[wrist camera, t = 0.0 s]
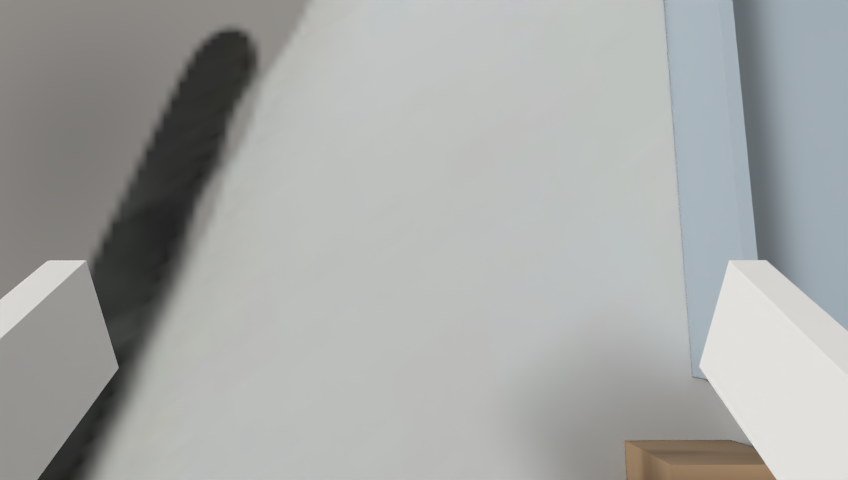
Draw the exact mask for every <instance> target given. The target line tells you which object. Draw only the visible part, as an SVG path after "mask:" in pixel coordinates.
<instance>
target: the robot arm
mask: <svg viewBox="0 0 848 480" xmlns="http://www.w3.org/2000/svg"><path fill="white" fill-rule="evenodd" d="M699 367H700V369H701V370H702V372H703V373H704V375H705V376H706V377H707V379H708V380H709V382H710V383H711V385H712V386H713V388H714V389H715V391H716V392H717V394H718V395H719V396H720V398H721V399H722V401H723V402H724V404H725V405H726V407H727V408H728V410H729V411H730V412H731V414H732V415H733V417H734V418H735V420H736V421H737V423H738V424H739V426H740V427H741V429H742V430H743V431H744V433H745V434H746V436H747V437H748V439H749V440H750V442H751V443H752V445H753V446H754V447H755V449H756V450H757V452H758V453H759V455H760V456H761V458H762V459H763V461H764V462H765V464H766V465H767V466H768V468H769V469H770V471H771V472H772V474H773V475H774V477H775V478H776V480H848V331H847V330H846V329H845V328H843V327H842V326H841V325H840V324H839V323H838V322H837V321H835V320H834V319H833V318H832V317H831V316H830V315H829V314H827V313H826V312H825V311H824V310H823V309H822V308H821V307H819V306H818V305H817V304H816V303H815V302H814V301H812V300H811V299H810V298H809V297H808V296H807V295H806V294H804V293H803V292H802V291H801V290H800V289H799V288H798V287H796V286H795V285H794V284H793V283H792V282H791V281H790V280H788V279H787V278H786V277H785V276H784V275H783V274H781V273H780V272H779V271H778V270H777V269H776V268H775V267H773V266H772V265H771V264H770V263H769V262H768V261H767V260H729V262H728V266H727V269H726V273H725V276H724V280H723V283H722V287H721V291H720V294H719V298H718V301H717V305H716V308H715V312H714V315H713V319H712V322H711V326H710V329H709V333H708V336H707V340H706V343H705V347H704V350H703V354H702V358H701V361H700V365H699ZM117 369H118V364H117V361H116V358H115V354H114V351H113V348H112V345H111V341H110V338H109V335H108V331H107V328H106V325H105V321H104V318H103V315H102V312H101V308H100V305H99V302H98V298H97V295H96V292H95V288H94V285H93V282H92V279H91V275H90V272H89V269H88V265H87V262H86V260H85V261H47V262H46V263H44V264H43V265H42V266H41V267H39V268H38V269H37V270H36V271H35V272H33V273H32V274H31V275H30V276H29V277H27V278H26V279H25V280H24V281H23V282H21V283H20V284H19V285H18V286H16V287H15V288H14V289H13V290H11V291H10V292H9V293H8V294H7V295H5V296H4V297H3V298H2V299H1V300H0V480H37V479H38V478H39V477H40V475H41V474H42V472H43V471H44V470H45V468H46V467H47V466H48V464H49V463H50V461H51V460H52V459H53V457H54V456H55V455H56V453H57V452H58V450H59V449H60V448H61V446H62V445H63V444H64V442H65V441H66V439H67V438H68V437H69V435H70V434H71V433H72V431H73V430H74V428H75V427H76V426H77V424H78V423H79V422H80V420H81V419H82V417H83V416H84V415H85V413H86V412H87V411H88V409H89V408H90V407H91V405H92V404H93V402H94V401H95V400H96V398H97V397H98V396H99V394H100V393H101V391H102V390H103V389H104V387H105V386H106V385H107V383H108V382H109V380H110V379H111V378H112V376H113V375H114V374H115V372H116V371H117Z"/></svg>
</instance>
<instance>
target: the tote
mask: <svg viewBox="0 0 848 480" xmlns="http://www.w3.org/2000/svg"><path fill="white" fill-rule="evenodd" d="M664 8H665V21H666V34H667V48H668V61H669V74H670V87H671V100H672V113H673V126H674V139H675V152H676V165H677V179H678V192H679V205H680V218H681V231H682V244H683V257H684V270H685V283H686V296H687V309H688V323H689V336H690V349H691V362H692V375H693V377H697V378H703V379H707V377H706V376H705V375H704V373H703V372H702V370H701V369H700V367H699V365H700V361H701V358H702V354H703V350H704V347H705V343H706V340H707V336H708V333H709V329H710V326H711V322H712V319H713V315H714V312H715V308H716V305H717V301H718V298H719V294H720V291H721V287H722V283H723V280H724V276H725V273H726V269H727V266H728V262H729V260H767V261H768V262H769V263H770V264H771V265H772V266H773V267H775V268H776V269H777V270H778V271H779V272H780V273H781V274H783V275H784V276H785V277H786V278H787V279H788V280H790V281H791V282H792V283H793V284H794V285H795V286H796V287H798V288H799V289H800V290H801V291H802V292H803V293H804V294H806V295H807V296H808V297H809V298H810V299H811V300H812V301H814V302H815V303H816V304H817V305H818V306H819V307H821V308H822V309H823V310H824V311H825V312H826V313H827V314H829V315H830V316H831V317H832V318H833V319H834V320H835V321H837V322H838V323H839V324H840V325H841V326H842V327H843V328H845V329H846V330H847V331H848V0H664Z"/></svg>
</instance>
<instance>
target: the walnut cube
mask: <svg viewBox="0 0 848 480" xmlns="http://www.w3.org/2000/svg"><path fill="white" fill-rule="evenodd" d="M625 457H626V475H627V480H776V478H775V477H774V475H773V474H772V472H771V471H770V469H769V468H768V466H767V465H766V464H765V462H764V461H763V459H762V458H761V456H760V455H759V453H758V452H757V450H756V449H755V448H752V447H749V446H746V445H744V444H741V443H738V442H735V441H732V440H646V441H625Z"/></svg>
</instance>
